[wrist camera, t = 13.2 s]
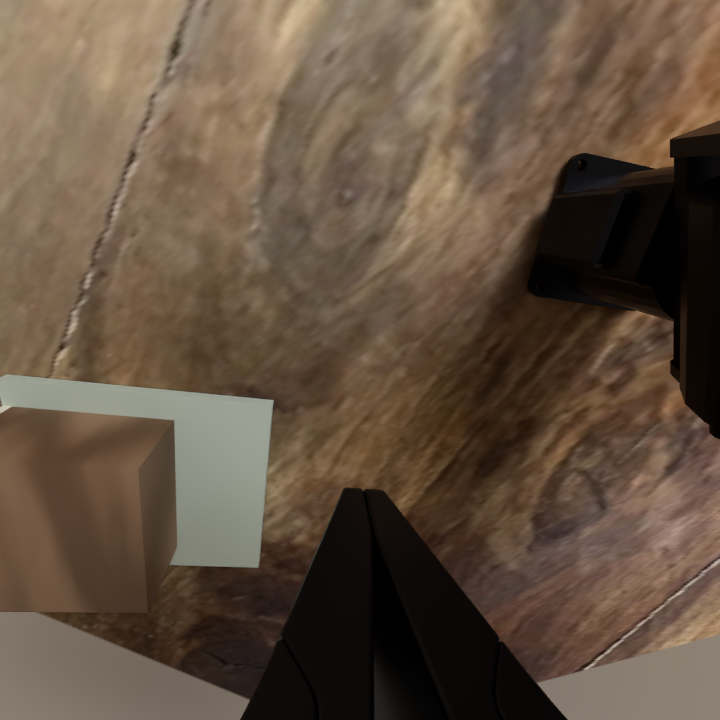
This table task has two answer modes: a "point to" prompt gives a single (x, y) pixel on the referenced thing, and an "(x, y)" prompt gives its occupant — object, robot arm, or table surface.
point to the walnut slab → (84, 510)
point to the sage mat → (186, 457)
